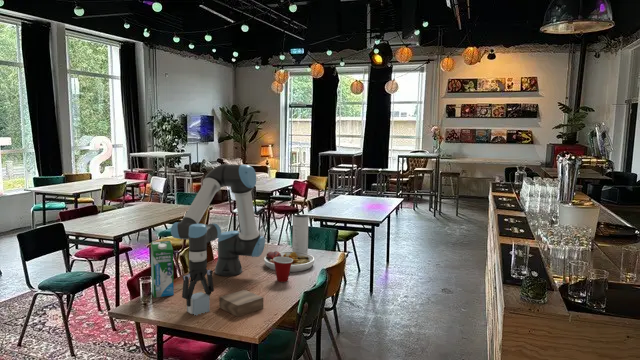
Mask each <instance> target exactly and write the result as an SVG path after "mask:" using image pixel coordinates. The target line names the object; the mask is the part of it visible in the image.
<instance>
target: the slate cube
mask: <svg viewBox="0 0 640 360" xmlns="http://www.w3.org/2000/svg"><path fill="white" fill-rule="evenodd" d="M204 293H205V292H204ZM204 293H203V292H202V291H200V292H196V293H193V294H192V297H191V298H192V299H193V314H194V315H193V314H192V315H193V316H195V315H196V316H199V315H198V314H200V315H202V314H201V313H203V314H205V312H206V313H209V312H210V311H211V310H210V307H211V306H210V304H211V302H210V300H211V295H210V296H208V295H206V294H204ZM186 312H188V306H187V305H186Z"/></svg>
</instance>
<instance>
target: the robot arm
mask: <svg viewBox="0 0 640 360" xmlns="http://www.w3.org/2000/svg"><path fill="white" fill-rule="evenodd" d="M256 173H257V172H256V170H255V169H254V167H253V166H251V165H247V164H231V163H228V164H227V163H225V164H224V163H223V164H220V165H217V166H216V167H213V169H211V170H210V171H209V172H208V173H207V174H206V175H205V177H204V179H203V180H202V186H201V187H200V188H199V191H198V192H197V193H196V195H195V197H194V198H193V200H192V203H191V204H190V206H189V207H188V209H187V211H186V213H185V214H184V216H183V218H182V219H180V220H181V221H178V222H177V221H176V222H174V223H172V225H171V228H170V234H171V236H172V238H174V239H178V240H188V259H189V261H188V269H189V272H188V274H186V275H182V280H183V282H182V294H181V297H182V298H183V299H184V300H186V307H187V306H188V311H187V313H189V314H190V315H193V299H192V298H191V297H192V294H194V290H195V287H196V285H197V283H198V282H199V281H200V282H201V285H202V288H203V290H204V294H206V295H208V296H210V297H211V294H212V293H213V292H214V291H215V289H214V288H215V287H214V280H213V273H214V274H215V275H218V276H221V277H231V276H237V275H239V274H242V273H243V266H242V264H241V261H240V260H241V259H240V256H243V257H252V258H259V257H260V256H261V255H262V254H263V252H264V249H265V245H266V238H265V237H264V236H263V235H261V233H260V230H259V229H258V228H257V223H256V215H255V210H254V203H253V196H252V191H254V187H255V186H256V185H257V174H256ZM224 187H229V188H230V191H231V193H232V194H234V198H235V203H236V204H235V205H236V210H237V211H236V212H237V216H238V217H237V218H238V222H239V229H240V232H239V231H238V230H229V231H228V230H227V231H223V232H222V228H221V226H220V225H219V224H217V223H209V224H206V223H205V224H204V223H200V221H201V220H202V218H203V216H204V214H205V213H206V211H207V209H208V208H209V206H210V204H211V202H212V201H213V198H214V197H215V195H216V193H217V192H219V191H220V190H221V188H224ZM216 240H217V261H216V265H215V268H214V271H213V270H211V269H207V268H208V261H207V258H208V257H207V256H208V255H207V253H208V252H207V250H208V249H207V248H208V247H207V246H208V243H210V242H213V241H216ZM206 278H207V279H206Z"/></svg>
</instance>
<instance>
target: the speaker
mask: <svg viewBox="0 0 640 360" xmlns="http://www.w3.org/2000/svg"><path fill="white" fill-rule="evenodd" d="M309 219H310V217H309V215H307V214H293V216H292V244H291V245H292V246H291V247H292V249H291V250H292V251H291V252H300V253H306V254H309V248H308V247H309Z"/></svg>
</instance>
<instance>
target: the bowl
mask: <svg viewBox="0 0 640 360" xmlns="http://www.w3.org/2000/svg"><path fill="white" fill-rule="evenodd" d="M275 257H288V258H291V259H293V262H292V264H291V267H290V273H297V272H303V271H305V270H308V269H310V268H312V266H313V265H314V263H315V257H314V256H313V255H311V254H309V253H308V254H306V253H300V252H292V251H278V250H275V251H274V252H273V251H269V252H267V253H266V255H265V256H264V258H263V262H264V265H265V267H267V268H268V269H270V270H272V271H275V272H276V270H275V264H274V260H273V258H275Z"/></svg>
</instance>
